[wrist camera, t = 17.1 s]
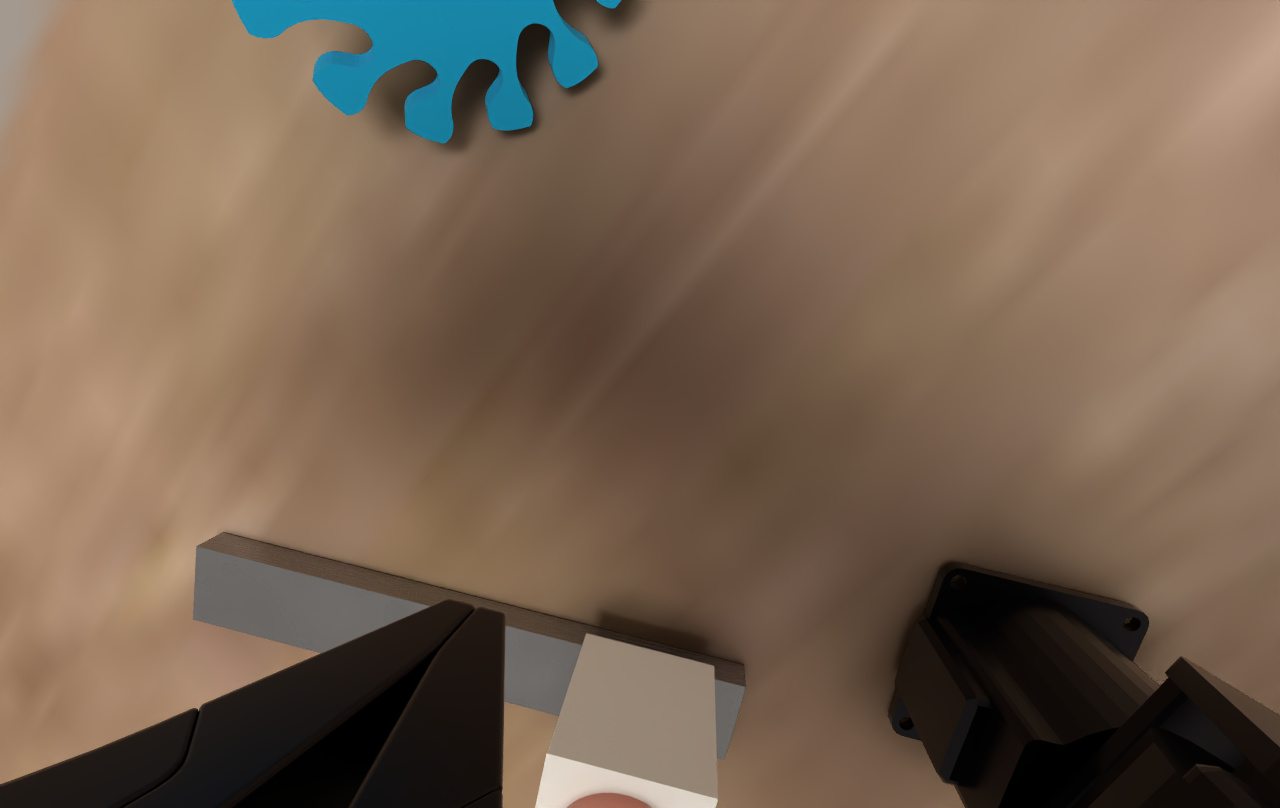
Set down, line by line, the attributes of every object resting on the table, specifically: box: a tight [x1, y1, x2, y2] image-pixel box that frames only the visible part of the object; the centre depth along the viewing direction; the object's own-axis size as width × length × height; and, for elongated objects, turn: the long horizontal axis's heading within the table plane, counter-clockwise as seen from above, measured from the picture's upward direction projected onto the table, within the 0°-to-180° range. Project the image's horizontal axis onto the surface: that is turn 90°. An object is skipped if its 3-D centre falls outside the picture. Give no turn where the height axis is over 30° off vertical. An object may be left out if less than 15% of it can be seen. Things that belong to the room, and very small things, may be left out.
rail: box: [193, 533, 746, 760], centre depth 22 cm, size 20×3×1 cm, turn 78°
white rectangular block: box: [535, 633, 718, 808], centre depth 17 cm, size 4×4×6 cm
